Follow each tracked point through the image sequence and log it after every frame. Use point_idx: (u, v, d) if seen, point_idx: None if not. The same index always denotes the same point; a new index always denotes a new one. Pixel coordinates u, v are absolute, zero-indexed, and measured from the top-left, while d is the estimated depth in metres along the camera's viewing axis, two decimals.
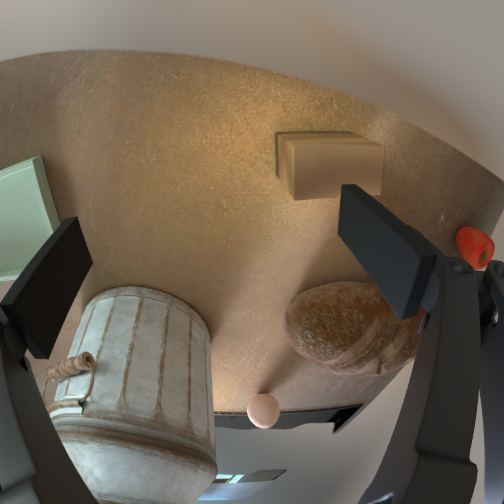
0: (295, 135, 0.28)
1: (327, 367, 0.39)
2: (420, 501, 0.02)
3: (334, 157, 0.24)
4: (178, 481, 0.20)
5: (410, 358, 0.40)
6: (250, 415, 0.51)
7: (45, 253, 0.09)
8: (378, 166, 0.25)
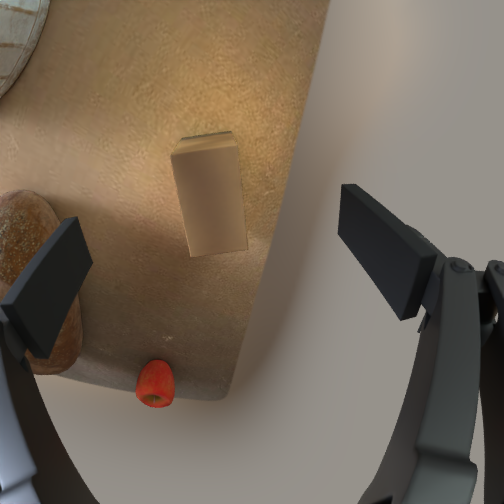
0: None
1: None
2: (420, 501, 0.02)
3: (228, 193, 0.22)
4: None
5: None
6: None
7: (45, 253, 0.09)
8: (223, 247, 0.25)
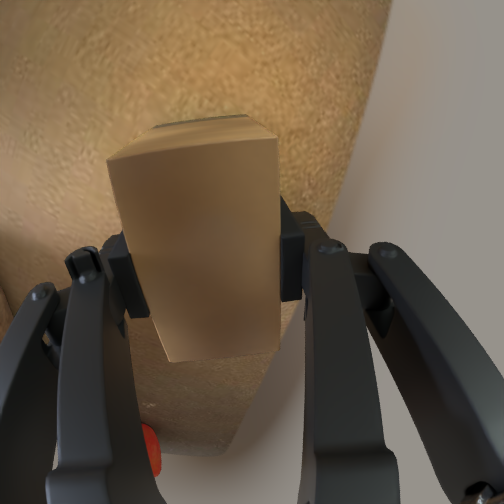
0: None
1: None
2: None
3: (248, 253, 0.10)
4: None
5: None
6: None
7: None
8: (232, 349, 0.12)
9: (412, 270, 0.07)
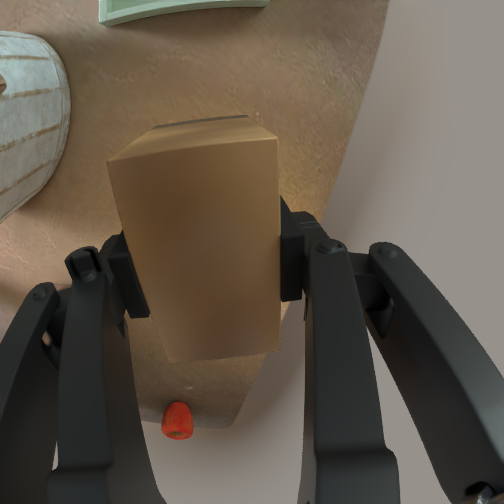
0: None
1: None
2: None
3: (248, 253, 0.10)
4: None
5: None
6: None
7: None
8: (232, 349, 0.12)
9: (412, 270, 0.07)
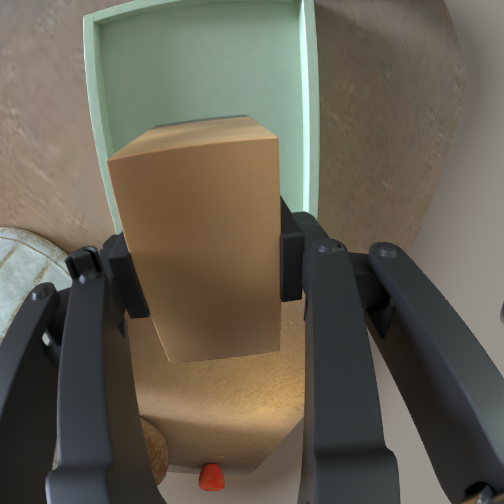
0: None
1: None
2: None
3: (248, 253, 0.10)
4: None
5: None
6: None
7: None
8: (232, 349, 0.12)
9: (412, 270, 0.07)
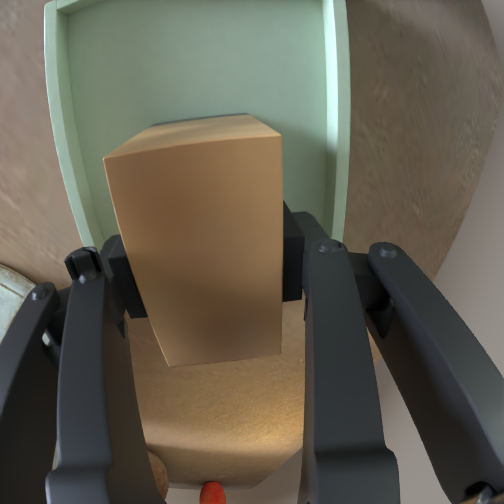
0: None
1: None
2: None
3: (249, 254, 0.09)
4: None
5: None
6: None
7: None
8: (232, 353, 0.12)
9: (412, 271, 0.07)
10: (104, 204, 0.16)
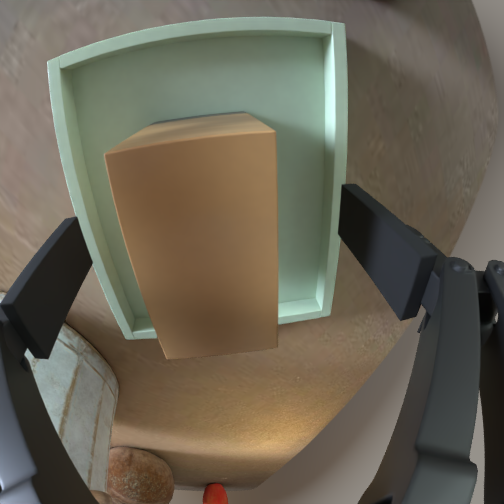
0: None
1: (109, 491, 0.31)
2: (420, 501, 0.02)
3: (245, 248, 0.09)
4: None
5: None
6: None
7: (45, 253, 0.09)
8: (230, 346, 0.12)
9: None
10: (121, 254, 0.18)
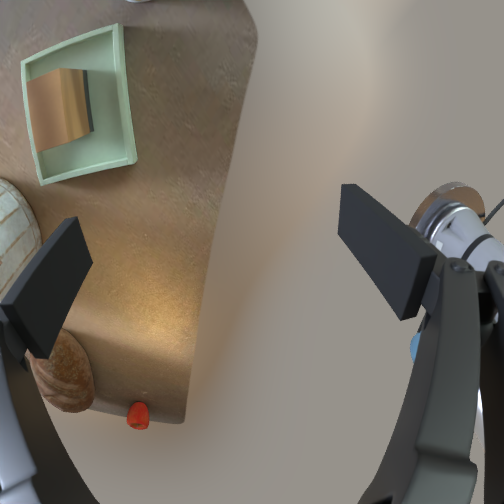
0: (80, 80, 0.26)
1: (35, 367, 0.44)
2: (420, 501, 0.02)
3: (54, 100, 0.23)
4: None
5: (60, 408, 0.51)
6: None
7: (45, 253, 0.09)
8: (53, 142, 0.25)
9: None
10: None
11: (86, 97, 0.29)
